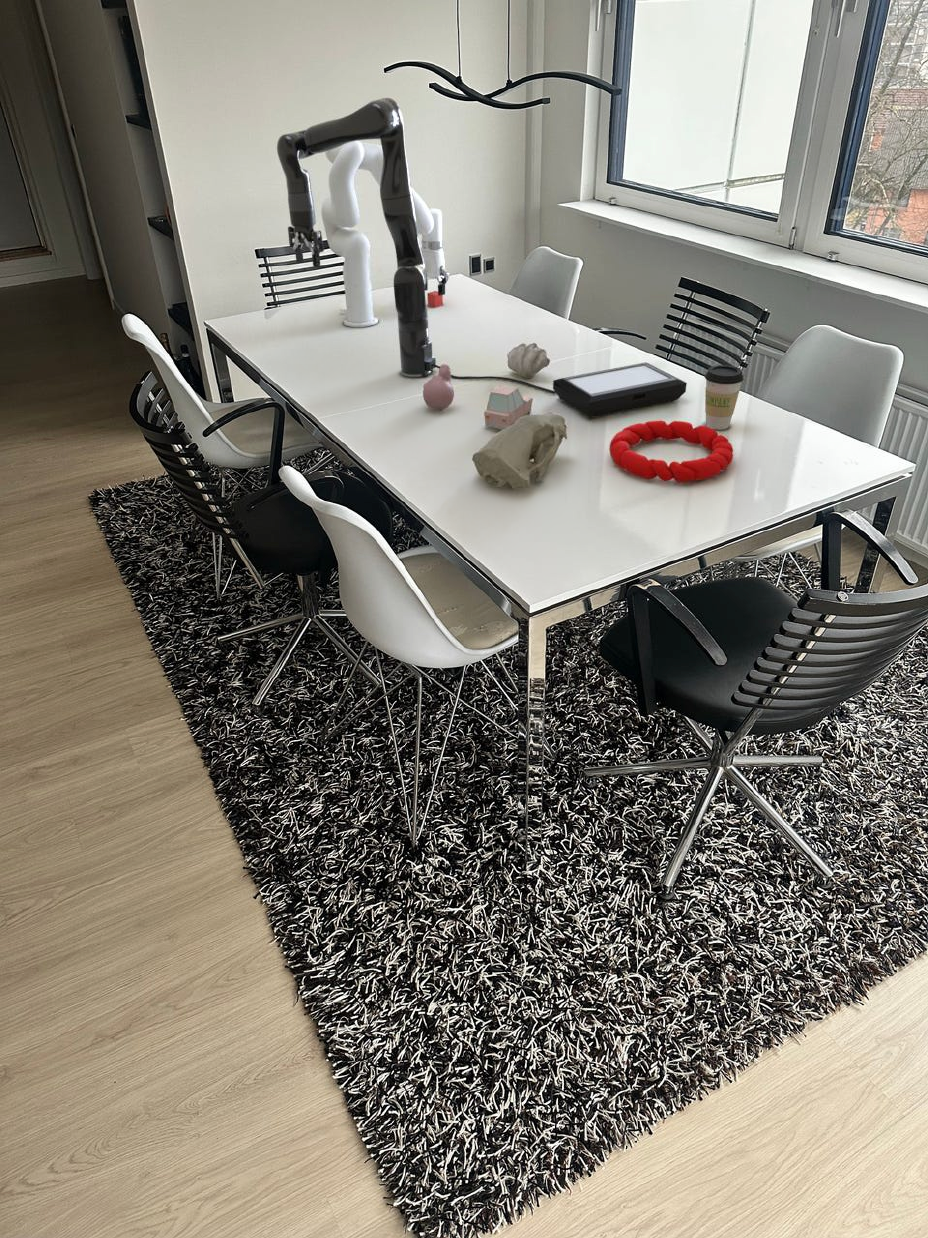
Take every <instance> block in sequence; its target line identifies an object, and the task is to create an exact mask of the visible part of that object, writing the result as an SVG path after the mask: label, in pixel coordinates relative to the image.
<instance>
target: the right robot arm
mask: <svg viewBox="0 0 928 1238" xmlns="http://www.w3.org/2000/svg"><path fill="white" fill-rule="evenodd" d="M366 140H379V141H380V145H381V146H382V152H383V167H382V173H381V181H380V186H379V199H380V202H381V208H382V213H383V217H384V221H385V224H386V226H387V228H388V231H389V233H390V236H391V239H392V241H393V245H394V249H395V256H396V266H397V267H396V268H397V269H396V271H395V272H394V276H393V294H394V305H395V311H396V314H397V328H398V329H397V330H398V343H399V358H400V374H401V375H402V376H404V377H406V378H426V377H428V376H429V375H430V374H431V373H433V372H434V369H435V368H436V369H438V370H439V369H440V366H441V365H437V364H436V363H437V362H436V361H437V360H436V357H434V356H433V342H432V341H431V340H430V332H429V331H430V330H429V314H428V311H429V310H428V306H427V302H426V301H427V300H426V291H425V284H426V281H427V280H428V278H427V272H426V268H425V264H424V261H423V257H422V253H421V246H420V241H419V234H418V231H417V221H416V213H415V206H414V200H413V194H412V189H413V188H412V184H411V178H410V172H409V171H410V170H409V165H408V159H407V152H406V151H407V150H406V139H405V125H404V117H403V113H402V110H401V107H400V105H399V104H398V103H397V101H396V100H394V99H393V98H391V97H383V98H379V99H376V100H375V99H374V100H371V101H369V102H368V103H367V104H365V105H363V106H361V107H359V109H357V110H355V111H354V112H352V113H350V114H348V115H345V116H343V117H340V118H335V119H331V120H326V121H323V122H319V123H317V124H314V125H312V126H309V127H307V128H306V129H303V130H299V131H294V132H290V133H285V134H282V135H280V136H279V138H278V140H277V143H276V153H277V157H278V160H279V162H280V165H281V168H282V171H283V173H284V176H285V181H286V189H287V203H288V211H289V218H290V219H289V220H290V225H291V226H288V227H287V233H288V243H289V247H290V248H292V249H293V251H294V253H295V254H294V255H295V260H296V263H297V264H300V263H301V264H302V263H303V262H304V253H303V246H304V245H305V246H306V248H307V249H309V250H310V252H311V260H312V266H313V268H318V267H320V266H321V256H320V253H323V252H324V251H325V250H324V249H325V248H324V241H323V235H322V231H321V230H315V228H314V226H315V225H316V224H317V220H316V211H315V210H316V209H315V203H314V201H315V200H314V197H313V191H312V183H311V176H310V173H309V171H308V169H305V168H302V166H301V163H300V160H303V159H307V158H309V157H312V156H315V155H316V154H322V153H325V151H328V150H332V149H335V148H337V147H340V146H342V145H344V144H346V143H349V142H353V141H366ZM411 188H412V189H411ZM452 378H453V379H456V380H457V379H458V380H488V379H489V380H503V381H510V382H515V383H520V384H523V385H526V386H528V387H531V388H534V389H538V390H541V391H545V392H548V393H550V394H554V395H556V392H555V391H554V390H553V389H549V388H546V387H543V386H539V385H536V384H533V383H531V382H528V381H524V380H520V379H516V378H513V377H504V376H494V375H493V376H492V375H487V376H482V375H481V376H472V375H471V376H468V375H467V376H458V375H454V374H451V379H452Z"/></svg>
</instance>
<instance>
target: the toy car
mask: <svg viewBox="0 0 928 1238" xmlns="http://www.w3.org/2000/svg"><path fill="white" fill-rule="evenodd" d="M533 399H534V398H533V397H531V396H525V395H522V393H521V392H520V390H519V388H517V387H512V386H506V385H499V386H498V387H496V388H494V389H493V390H491V391H490V393H489V397H488V402H487V406H486V409H485V410H484V411H483V415H484V424H485V427H489V428H492V429H493V428H494V429H499V430H503V429H505V428H507V427H509V426H511V425H513V424H514V423H515V422H516V421H517V420H518V419H519V418H520V417H523V416H527V415H532V414H531V413H532V406H533Z"/></svg>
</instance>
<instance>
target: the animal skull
mask: <svg viewBox="0 0 928 1238" xmlns="http://www.w3.org/2000/svg"><path fill="white" fill-rule="evenodd" d="M567 429H568V427H567V424H566V419H565V418H564V416H563V415H562V414H559V413H554V412H552V411H547V412H544V413H537V414H530V415H527V416H523V417H520V418H519V419H518V420H517V421H516V422H515V423H514V424H513V425H511V426H509V427H507V428H505V429H501V430H500V431H499V432H498V433H497V434H495V435H494V436H493V437H491V439H489V440H488V441H487V442H486V443H485V444H484V445H483V446H482V447H481V448H480V449H479V450H478V451H477V452H475V453H474V454H473V455H472V458H471V461H472V462H473V464H474V467H475V469H476V471H477V473H478V475H479V476H480V477H482V478H483V480H484V481H485V482H486V483H491V482H497V488H501V487H503V486H504V485H505V484H507V483H508V484H509V485H510V486H511V488H512V490H515V489H517V488H520V487H521V488H523V487H524V488H526V487H527V488H529V487H530V475H531V474H533V473H535V476H536V479H535V481H536V482H537V483H539V482H540V481H541V480H542V477H543V476H544V474H545V473H546V472H547V471H548V468H549V466H550V465H551V463H552V462H553V460H554V459H555V456H556V454H557V452H558V450H559V447H560V446H561V444H562V442H563V440H568V434H567Z"/></svg>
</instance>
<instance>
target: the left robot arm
mask: <svg viewBox="0 0 928 1238" xmlns="http://www.w3.org/2000/svg"><path fill="white" fill-rule="evenodd" d="M324 153H325V157H326V159H327V160H328V161H329V162H330V163H331V164H332V165H331V167H330V170H329V173H328V189H329V194H330V195H328V196H326V197H325V198H324V200H323V201H322V204H321V211H320V213H321V218H322V223H323V224H322V225H323V228H324V232H325V237H326V240H327V245H328V247H329V248H330V251H331V252H332V253H333V254H335V255H337V256H339V257H342V258H344V263H343V268H342V277H343V285H344V296H345V305H346V306H345V308H342V307H341V308H340V309H339V313H338V314H339V316H344V319H343V324H344V325H345V326H347V327H351V328H366V327H371V326H374V325H376V324H378V322H379V317H377V316H376V315H374V306H373V305H374V304H373V295H372V281H371V271H370V269H371V268H370V257H371V243H370V240H369V239H368V237H367V236H366V234H365V233H362V232H361V231H359V230H355V229H351V228H355V227H356V226H357V225H358V224H359V223H360V220H361V212H360V208H359V207H360V206H359V202H358V198H357V193H356V188H355V175H356V172H357V170H363V171H368V172H370V174H372V176H373V178H374V180H375V182H376V183H377V185H378V187H380V181H381V173H382V167H383V152H382V146H381V144H378V143H377V144H375V143H369V142H363V141H360V140H358V141H353V142H349V143H346V144H344V145H342V146H340V147H337V148H335V149H332V150H328V151H325V152H324ZM411 189H412V194H413V200H414V206H415V213H416V221H417V231H418V235H420V236H421V241H420V242H421V247H420V249H421V253H422V257H423V261H424V264H425V268H426V272H427V281H426V284H425V292H426V291H428V290H429V289H428V287H429V285H428V283H429V281H428V280H429V279H432V280H437V282H438V284H437V292H438V295H439V296H441V295H443V296H444V295H446V285H447V282H448V281H449V277H450V272H449V271H448V270H447V269H446V264H445V263H446V261H445V254H444V249H443V213H442V211H441V209H438V208H431V207H430V208H429V207H428V206H427V204H426V203H425V201H424V200H423V199H422V197H421V196H420V195H419V194H418V193H417V192H416V191H415V190H414V188H412V187H411Z"/></svg>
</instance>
